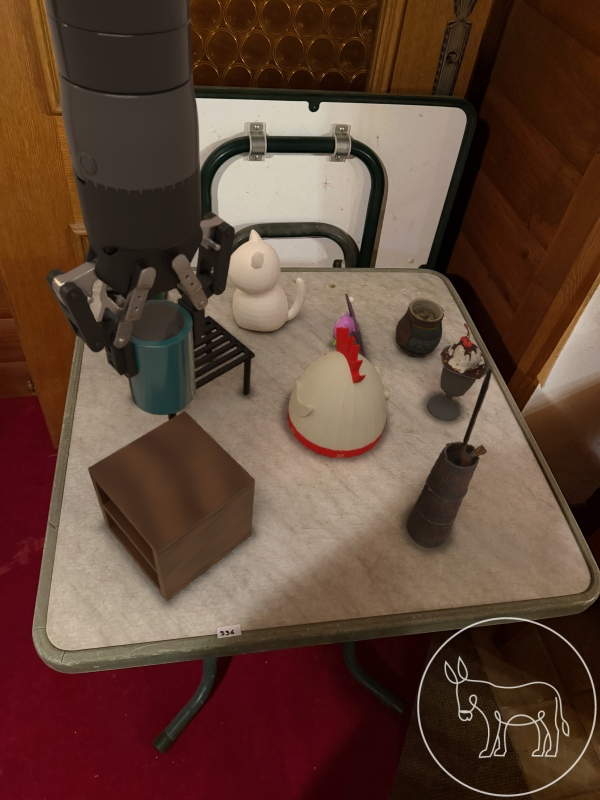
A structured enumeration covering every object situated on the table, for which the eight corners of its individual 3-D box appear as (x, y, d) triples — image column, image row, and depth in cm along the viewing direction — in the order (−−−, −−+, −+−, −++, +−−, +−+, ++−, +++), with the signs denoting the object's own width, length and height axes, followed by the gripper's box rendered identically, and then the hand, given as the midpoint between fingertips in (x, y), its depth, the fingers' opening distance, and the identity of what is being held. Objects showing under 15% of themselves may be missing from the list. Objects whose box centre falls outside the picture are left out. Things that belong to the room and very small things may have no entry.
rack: (173, 442, 74) (168, 403, 68) (130, 398, 78) (122, 358, 73) (253, 393, 81) (255, 353, 75) (210, 355, 86) (209, 315, 80)
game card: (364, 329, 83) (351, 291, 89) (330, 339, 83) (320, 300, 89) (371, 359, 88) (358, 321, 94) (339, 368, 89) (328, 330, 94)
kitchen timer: (361, 376, 86) (381, 298, 75) (399, 446, 78) (428, 370, 66) (274, 391, 82) (282, 312, 71) (305, 467, 74) (319, 390, 63)
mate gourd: (432, 334, 94) (450, 286, 87) (439, 366, 89) (458, 317, 82) (390, 330, 94) (404, 281, 86) (394, 362, 89) (410, 313, 81)
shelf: (166, 601, 60) (156, 550, 51) (106, 526, 65) (87, 467, 56) (251, 535, 67) (255, 479, 58) (189, 470, 72) (184, 410, 63)
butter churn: (462, 494, 73) (557, 335, 52) (478, 563, 67) (592, 413, 46) (393, 491, 73) (461, 328, 52) (402, 560, 66) (484, 406, 45)
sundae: (426, 386, 86) (456, 310, 75) (469, 400, 85) (506, 325, 74) (416, 415, 82) (446, 339, 70) (461, 431, 81) (499, 357, 69)
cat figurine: (225, 302, 94) (225, 223, 83) (299, 303, 96) (308, 225, 85) (226, 339, 88) (226, 258, 77) (304, 339, 90) (316, 260, 79)
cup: (155, 426, 47) (145, 357, 41) (118, 387, 49) (104, 316, 43) (208, 395, 50) (207, 326, 44) (171, 359, 52) (165, 290, 46)
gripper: (195, 106, 39) (202, 298, 51) (-13, 156, 31) (54, 367, 44) (267, 149, 36) (255, 343, 48) (54, 216, 28) (105, 425, 41)
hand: (159, 354), depth 46 cm, fingers closed on cup, 5 cm apart
